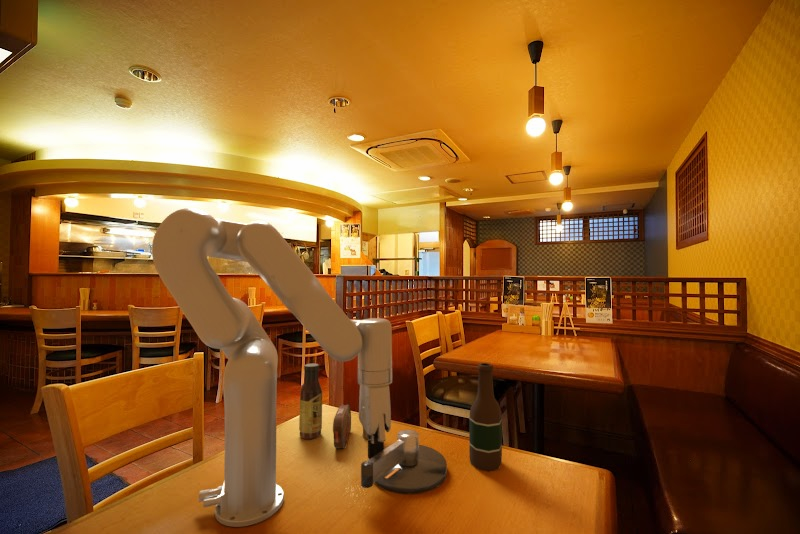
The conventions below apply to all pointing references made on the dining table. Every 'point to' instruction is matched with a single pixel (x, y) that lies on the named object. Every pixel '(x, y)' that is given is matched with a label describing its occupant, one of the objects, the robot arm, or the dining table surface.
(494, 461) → the beer bottle
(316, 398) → the sauce bottle
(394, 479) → the dial plate
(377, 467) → the dial lever
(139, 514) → the dining table surface
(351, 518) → the dining table surface
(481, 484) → the dining table surface
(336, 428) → the tin
